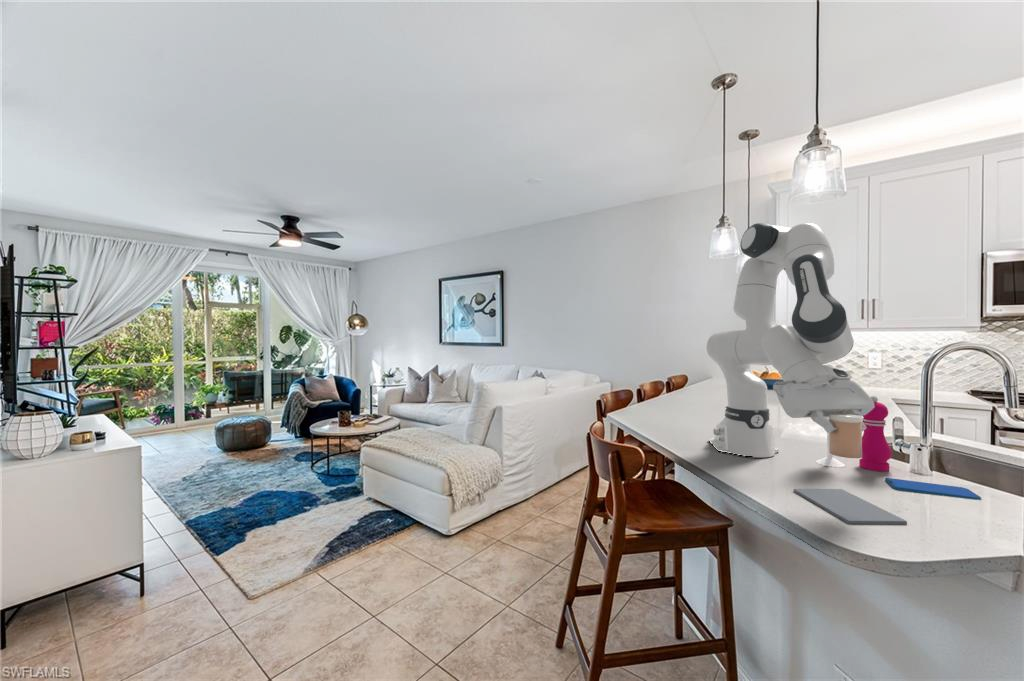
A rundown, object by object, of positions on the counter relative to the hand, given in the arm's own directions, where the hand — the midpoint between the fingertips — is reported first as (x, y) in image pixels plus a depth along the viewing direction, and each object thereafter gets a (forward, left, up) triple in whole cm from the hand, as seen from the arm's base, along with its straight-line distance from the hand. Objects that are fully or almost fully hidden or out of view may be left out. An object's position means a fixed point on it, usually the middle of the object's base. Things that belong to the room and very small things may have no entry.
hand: (847, 430), depth 88 cm
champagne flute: (-31, +18, -17) cm, 39 cm away
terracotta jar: (-1, 0, -5) cm, 5 cm away
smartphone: (-11, +27, -17) cm, 33 cm away
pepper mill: (-27, +27, -17) cm, 41 cm away
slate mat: (-1, 0, -17) cm, 17 cm away
